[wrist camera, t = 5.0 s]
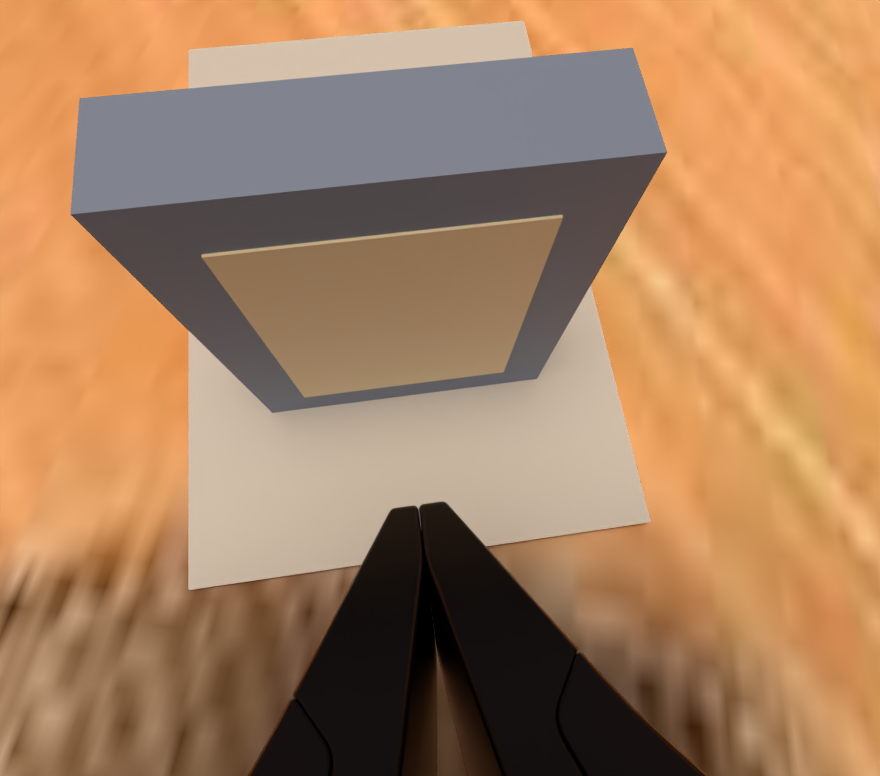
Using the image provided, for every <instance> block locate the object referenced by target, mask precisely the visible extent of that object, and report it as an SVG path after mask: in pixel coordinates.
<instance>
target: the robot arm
mask: <svg viewBox="0 0 880 776" xmlns="http://www.w3.org/2000/svg"><path fill="white" fill-rule="evenodd" d="M419 515H420V517H419ZM420 523H421V524H420ZM429 594H430V595H429ZM430 602H431V603H430ZM431 610H432V611H431ZM432 617H433V619H432ZM433 625H434V627H433ZM434 632H435V635H434ZM435 640H436V645H435ZM436 646H437V652H438V658H439V662H440V667H441V671H442V675H443V679H444V683H445V687H446V691H447V695H448V699H449V703H450V707H451V711H452V715H453V719H454V723H455V727H456V731H457V735H458V739H459V743H460V747H461V751H462V755H463V759H464V763H465V767H466V771H467V775H468V776H707V775H706V774H705V773H704V772H703V771H702V770H700V769H699V768H698V767H697V766H696V765H695V764H694V763H693V762H692V761H690V760H689V759H688V758H687V757H686V756H685V755H684V754H683V753H682V752H680V751H679V750H678V749H677V748H676V747H675V746H674V745H673V744H672V743H671V742H670V741H668V740H667V739H666V738H665V737H664V736H663V735H662V734H661V733H660V732H659V731H658V730H657V729H656V728H655V727H654V726H652V725H651V724H650V723H649V722H648V721H647V720H646V719H645V718H644V717H643V716H642V715H641V714H640V713H639V712H637V711H636V710H635V709H634V708H633V707H632V706H631V704H630V703H629V702H628V701H627V700H626V699H625V698H624V697H623V696H622V695H621V694H620V693H619V692H618V691H617V690H616V689H615V688H614V687H613V686H612V685H611V684H610V683H609V682H608V680H607V679H606V678H605V677H604V676H603V675H602V674H601V673H600V672H599V671H598V670H597V669H596V667H595V666H594V665H593V664H592V663H591V662H590V661H589V660H588V659H587V657H586V656H585V655H584V654H583V653H581V652H579V653H578V648H577V647H576V646H575V644H574V643H573V642H572V641H571V640H570V639H569V638H568V637H567V636H566V634H565V633H564V632H563V631H562V630H561V629H560V628H559V627H558V626H557V625H556V623H555V622H554V621H553V620H552V619H551V618H550V617H549V616H548V615H547V613H546V612H545V611H544V610H543V609H542V608H541V607H540V606H539V605H538V603H537V602H536V601H535V600H534V599H533V598H532V597H531V596H530V595H529V593H528V592H527V591H526V590H525V589H524V588H523V587H522V586H521V585H520V583H519V582H518V581H517V580H516V579H515V578H514V577H513V576H512V575H511V574H510V572H509V571H508V570H507V569H506V568H505V567H504V566H503V565H502V564H501V562H500V561H499V560H498V559H497V558H496V557H495V556H494V555H493V554H492V552H491V551H490V550H489V549H488V548H487V547H486V546H485V545H484V544H483V542H482V541H481V540H480V539H479V538H478V537H477V536H476V535H475V534H474V532H473V531H472V530H471V529H470V528H469V527H468V526H467V525H466V524H465V523H464V521H463V520H462V519H461V518H460V517H459V516H458V515H457V514H456V513H455V511H454V510H453V509H452V508H451V507H450V506H449V505H448V504H447V503H446V502H444V501H440V502H433V503H426V504H422V505H420V507H419V510H418V507H417V506H415V505H412V506H405V507H398V508H393V509H391V510H390V512H389V513H388V515H387V517H386V519H385V521H384V523H383V525H382V527H381V528H380V530H379V532H378V534H377V536H376V538H375V540H374V542H373V544H372V545H371V547H370V549H369V551H368V553H367V555H366V557H365V559H364V561H363V563H362V564H361V566H360V568H359V570H358V572H357V574H356V576H355V578H354V580H353V581H352V583H351V585H350V587H349V589H348V591H347V593H346V595H345V597H344V598H343V600H342V602H341V604H340V606H339V608H338V610H337V612H336V614H335V616H334V617H333V619H332V621H331V623H330V625H329V627H328V629H327V631H326V633H325V634H324V636H323V638H322V640H321V642H320V644H319V646H318V648H317V650H316V651H315V653H314V655H313V657H312V659H311V661H310V663H309V665H308V667H307V669H306V670H305V672H304V674H303V676H302V678H301V680H300V682H299V684H298V686H297V687H296V689H295V691H294V693H293V697H294V699H290V700H289V702H288V704H287V706H286V708H285V710H284V711H283V713H282V715H281V717H280V719H279V721H278V723H277V725H276V727H275V729H274V730H273V732H272V734H271V736H270V738H269V739H268V741H267V743H266V745H265V746H264V748H263V750H262V752H261V753H260V755H259V757H258V759H257V761H256V762H255V764H254V766H253V768H252V769H251V771H250V773H249V775H248V776H437V656H436Z"/></svg>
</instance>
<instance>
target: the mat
mask: <svg viewBox="0 0 880 776" xmlns="http://www.w3.org/2000/svg"><path fill="white" fill-rule="evenodd" d="M528 57H533V55H532V51H531V47H530V43H529V39H528V35H527V31H526V27H525V23H524V20H523V21H512V22H500V23H489V24H477V25H466V26H454V27H443V28H431V29H420V30H408V31H397V32H385V33H374V34H363V35H351V36H340V37H328V38H317V39H305V40H294V41H282V42H271V43H259V44H248V45H236V46H225V47H213V48H202V49H190V50H189V88H200V87H211V86H222V85H233V84H243V83H254V82H265V81H276V80H287V79H298V78H309V77H320V76H331V75H342V74H353V73H364V72H375V71H386V70H397V69H407V68H418V67H429V66H440V65H451V64H462V63H473V62H484V61H495V60H506V59H517V58H528ZM440 501H444V502H446V503H447V504H448V505H449V506H450V507H451V508H452V509H453V510H454V511H455V513H456V514H457V515H458V516H459V517H460V518H461V519H462V520H463V521H464V523H465V524H466V525H467V526H468V527H469V528H470V529H471V530H472V531H473V532H474V534H475V535H476V536H477V537H478V538H479V539H480V540H481V541H482V542H483V544H484V545H485V546H493V545H500V544H507V543H514V542H520V541H527V540H534V539H541V538H548V537H554V536H561V535H568V534H575V533H582V532H588V531H595V530H602V529H609V528H616V527H622V526H629V525H636V524H643V523H649V522H651V521H650V517H649V513H648V509H647V505H646V501H645V497H644V493H643V489H642V485H641V481H640V478H639V474H638V470H637V466H636V462H635V458H634V454H633V450H632V446H631V442H630V438H629V434H628V430H627V426H626V422H625V418H624V414H623V410H622V406H621V402H620V399H619V395H618V391H617V387H616V383H615V379H614V375H613V371H612V367H611V363H610V359H609V355H608V351H607V347H606V343H605V339H604V335H603V331H602V327H601V324H600V320H599V316H598V312H597V308H596V304H595V300H594V296H593V292H592V288H591V286H590V287H589V289H588V291H587V293H586V294H585V296H584V298H583V299H582V301H581V303H580V305H579V306H578V308H577V310H576V312H575V313H574V315H573V317H572V319H571V320H570V322H569V324H568V326H567V327H566V329H565V331H564V333H563V334H562V336H561V338H560V340H559V341H558V343H557V345H556V346H555V348H554V350H553V352H552V353H551V355H550V357H549V359H548V360H547V362H546V364H545V366H544V367H543V369H542V371H541V373H540V374H539V376H538V378H537V379H532V380H525V381H517V382H509V383H501V384H493V385H486V386H478V387H470V388H462V389H455V390H447V391H439V392H431V393H423V394H416V395H408V396H400V397H392V398H385V399H377V400H369V401H361V402H354V403H346V404H338V405H330V406H322V407H315V408H307V409H299V410H291V411H284V412H276V413H272V412H271V411H270V410H269V409H268V408H267V407H266V406H265V405H264V404H263V403H262V402H261V401H260V400H259V399H258V398H257V397H256V396H255V395H254V394H253V393H252V392H251V391H250V390H249V389H248V388H247V387H245V386H244V385H243V384H242V383H241V382H240V381H239V380H238V379H237V378H236V377H235V376H234V375H233V374H232V373H231V372H230V371H229V370H228V369H227V368H226V367H225V366H224V365H223V364H222V363H221V362H220V361H219V360H218V359H217V358H216V357H215V356H214V355H213V354H212V353H211V352H210V351H209V350H208V349H207V348H206V347H205V346H204V345H203V344H202V343H201V342H200V341H199V340H198V339H197V338H196V337H195V336H194V335H193V334H192V333H191V332H190V331H189V590H194V589H201V588H208V587H215V586H221V585H228V584H235V583H242V582H249V581H255V580H262V579H269V578H276V577H283V576H289V575H296V574H303V573H310V572H317V571H323V570H330V569H337V568H344V567H351V566H357V565H361V564H362V563H363V561H364V559H365V557H366V555H367V553H368V551H369V549H370V547H371V545H372V544H373V542H374V540H375V538H376V536H377V534H378V532H379V530H380V528H381V527H382V525H383V523H384V521H385V519H386V517H387V515H388V513H389V512H390V510H391V509H393V508H398V507H405V506H412V505H415V506H417V507H418V510H419V507H420V505H422V504H426V503H433V502H440ZM419 517H420V515H419ZM420 524H421V523H420Z"/></svg>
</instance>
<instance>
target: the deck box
mask: <svg viewBox="0 0 880 776" xmlns="http://www.w3.org/2000/svg"><path fill="white" fill-rule="evenodd" d="M666 153H667V150H666V147H665V144H664V141H663V138H662V135H661V132H660V129H659V126H658V123H657V120H656V117H655V114H654V111H653V108H652V105H651V102H650V99H649V96H648V93H647V90H646V87H645V84H644V81H643V77H642V74H641V71H640V68H639V65H638V62H637V59H636V56H635V53H634V50H633V48H626V49H615V50H604V51H593V52H582V53H572V54H561V55H550V56H539V57H528V58H517V59H506V60H495V61H484V62H473V63H462V64H451V65H440V66H429V67H418V68H407V69H397V70H386V71H375V72H364V73H353V74H342V75H331V76H320V77H309V78H298V79H287V80H276V81H265V82H254V83H243V84H233V85H222V86H211V87H200V88H189V89H178V90H167V91H156V92H145V93H134V94H123V95H112V96H101V97H90V98H80V101H79V114H78V126H77V139H76V152H75V164H74V177H73V190H72V203H71V215H72V216H73V217H74V218H75V219H76V220H77V221H78V222H79V223H80V224H81V225H82V226H83V227H84V228H85V229H86V230H87V231H88V232H89V233H90V234H91V235H92V236H93V237H94V238H95V239H96V240H97V241H98V242H99V243H100V244H101V245H102V246H103V247H104V248H105V249H106V250H107V251H108V252H109V253H110V254H111V255H112V256H113V257H114V258H115V259H116V260H117V261H119V262H120V263H121V264H122V265H123V266H124V267H125V268H126V269H127V270H128V271H129V272H130V273H131V274H132V275H133V276H134V277H135V278H136V279H137V280H138V281H139V282H140V283H141V284H142V285H143V286H144V287H145V288H146V289H147V290H148V291H149V292H150V293H151V294H152V295H153V296H154V297H155V298H156V299H157V300H158V301H159V302H160V303H161V304H162V305H163V306H164V307H165V308H166V309H167V310H168V311H169V312H170V313H171V314H172V315H173V316H174V317H175V318H176V319H177V320H178V321H179V322H180V323H181V324H183V325H184V326H185V327H186V328H187V329H188V330H189V331H190V332H191V333H192V334H193V335H194V336H195V337H196V338H197V339H198V340H199V341H200V342H201V343H202V344H203V345H204V346H205V347H206V348H207V349H208V350H209V351H210V352H211V353H212V354H213V355H214V356H215V357H216V358H217V359H218V360H219V361H220V362H221V363H222V364H223V365H224V366H225V367H226V368H227V369H228V370H229V371H230V372H231V373H232V374H233V375H234V376H235V377H236V378H237V379H238V380H239V381H240V382H241V383H242V384H243V385H244V386H245V387H247V388H248V389H249V390H250V391H251V392H252V393H253V394H254V395H255V396H256V397H257V398H258V399H259V400H260V401H261V402H262V403H263V404H264V405H265V406H266V407H267V408H268V409H269V410H270V411H271V412H272V413H276V412H284V411H291V410H299V409H307V408H315V407H322V406H330V405H338V404H346V403H354V402H361V401H369V400H377V399H385V398H392V397H400V396H408V395H416V394H423V393H431V392H439V391H447V390H455V389H462V388H470V387H478V386H486V385H493V384H501V383H509V382H517V381H525V380H532V379H537V378H538V376H539V374H540V373H541V371H542V369H543V367H544V366H545V364H546V362H547V360H548V359H549V357H550V355H551V353H552V352H553V350H554V348H555V346H556V345H557V343H558V341H559V340H560V338H561V336H562V334H563V333H564V331H565V329H566V327H567V326H568V324H569V322H570V320H571V319H572V317H573V315H574V313H575V312H576V310H577V308H578V306H579V305H580V303H581V301H582V299H583V298H584V296H585V294H586V293H587V291H588V289H589V287H590V286H591V284H592V282H593V280H594V279H595V277H596V275H597V273H598V272H599V270H600V268H601V266H602V265H603V263H604V261H605V259H606V258H607V256H608V254H609V253H610V251H611V249H612V247H613V246H614V244H615V242H616V240H617V239H618V237H619V235H620V233H621V232H622V230H623V228H624V226H625V225H626V223H627V221H628V219H629V218H630V216H631V214H632V212H633V211H634V209H635V207H636V206H637V204H638V202H639V200H640V199H641V197H642V195H643V193H644V192H645V190H646V188H647V186H648V185H649V183H650V181H651V179H652V178H653V176H654V174H655V172H656V171H657V169H658V167H659V165H660V164H661V162H662V160H663V159H664V157H665V155H666Z"/></svg>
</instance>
